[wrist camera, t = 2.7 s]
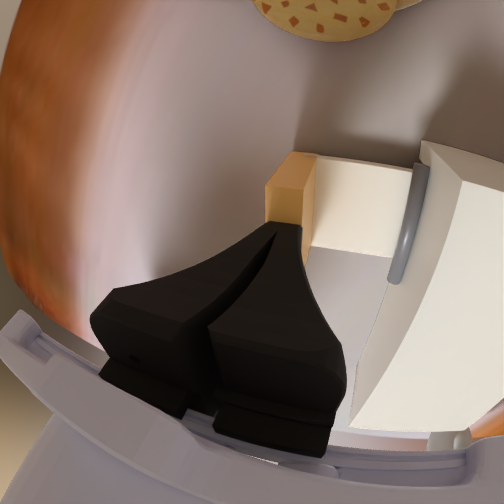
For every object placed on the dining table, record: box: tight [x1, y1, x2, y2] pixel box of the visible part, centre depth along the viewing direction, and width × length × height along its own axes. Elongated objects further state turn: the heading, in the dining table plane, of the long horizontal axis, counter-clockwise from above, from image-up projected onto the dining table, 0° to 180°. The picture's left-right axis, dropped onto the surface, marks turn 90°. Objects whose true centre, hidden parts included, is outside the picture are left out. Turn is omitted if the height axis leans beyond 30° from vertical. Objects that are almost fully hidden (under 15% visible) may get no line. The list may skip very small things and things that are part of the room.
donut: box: [426, 427, 473, 451], centre depth 20 cm, size 10×4×10 cm, turn 60°
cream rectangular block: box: [348, 140, 504, 432], centre depth 13 cm, size 12×19×6 cm, turn 2°
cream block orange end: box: [265, 151, 413, 268], centre depth 11 cm, size 15×5×5 cm, turn 92°
